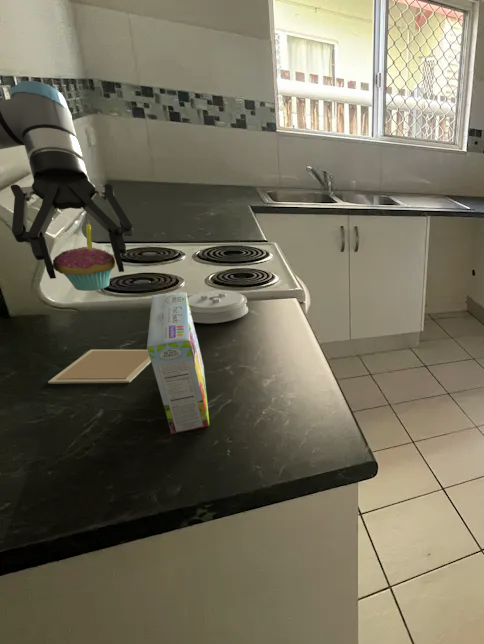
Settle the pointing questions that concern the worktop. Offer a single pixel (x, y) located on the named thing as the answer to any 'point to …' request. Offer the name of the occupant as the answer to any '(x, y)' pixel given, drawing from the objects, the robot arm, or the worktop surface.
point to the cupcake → (86, 265)
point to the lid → (217, 306)
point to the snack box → (177, 362)
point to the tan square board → (105, 367)
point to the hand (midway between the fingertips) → (87, 271)
